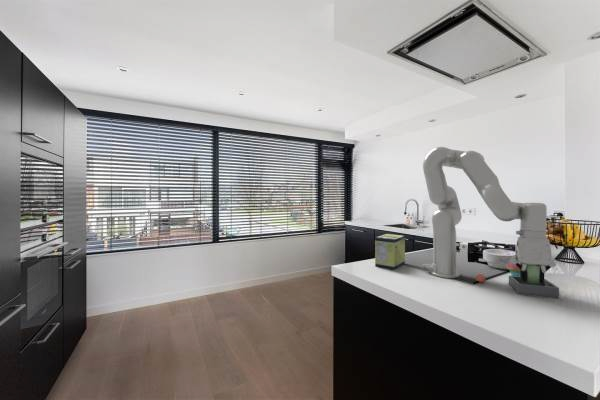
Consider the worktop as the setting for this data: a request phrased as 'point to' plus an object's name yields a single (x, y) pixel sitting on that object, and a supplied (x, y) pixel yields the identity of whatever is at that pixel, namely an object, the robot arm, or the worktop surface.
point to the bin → (534, 288)
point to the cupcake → (513, 269)
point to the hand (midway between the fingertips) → (531, 280)
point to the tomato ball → (480, 278)
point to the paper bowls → (498, 257)
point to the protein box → (389, 251)
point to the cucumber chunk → (533, 274)
